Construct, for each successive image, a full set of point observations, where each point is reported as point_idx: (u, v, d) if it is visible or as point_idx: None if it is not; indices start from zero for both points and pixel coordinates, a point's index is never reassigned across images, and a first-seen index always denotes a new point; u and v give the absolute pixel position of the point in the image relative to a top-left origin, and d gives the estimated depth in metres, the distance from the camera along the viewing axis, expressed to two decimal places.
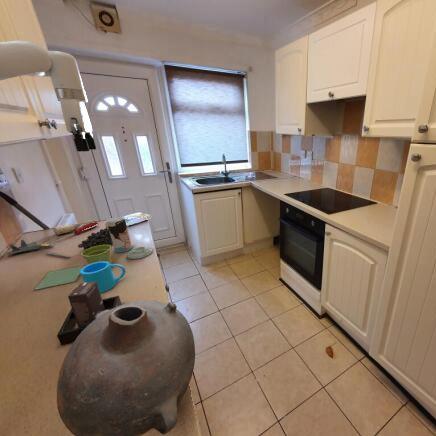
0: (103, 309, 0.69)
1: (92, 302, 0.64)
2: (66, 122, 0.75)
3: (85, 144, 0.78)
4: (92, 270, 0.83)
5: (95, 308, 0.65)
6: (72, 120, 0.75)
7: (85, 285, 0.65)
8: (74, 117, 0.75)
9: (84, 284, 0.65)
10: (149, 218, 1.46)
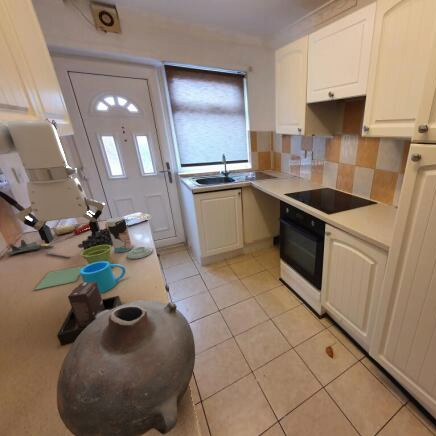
0: (103, 309, 0.69)
1: (92, 302, 0.64)
2: None
3: None
4: (92, 270, 0.83)
5: (95, 308, 0.65)
6: (28, 207, 0.57)
7: (85, 285, 0.65)
8: None
9: (84, 284, 0.65)
10: (149, 218, 1.46)
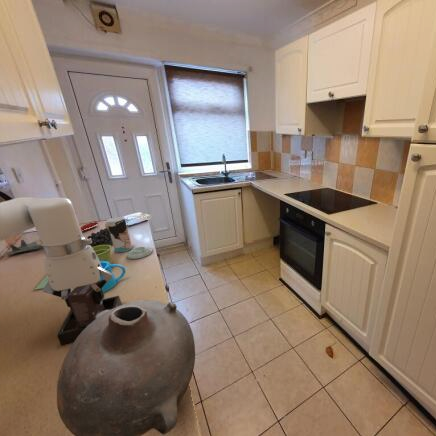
0: (103, 309, 0.69)
1: (92, 302, 0.64)
2: None
3: None
4: None
5: (95, 308, 0.65)
6: (49, 280, 0.60)
7: (84, 285, 0.65)
8: None
9: None
10: (149, 218, 1.46)
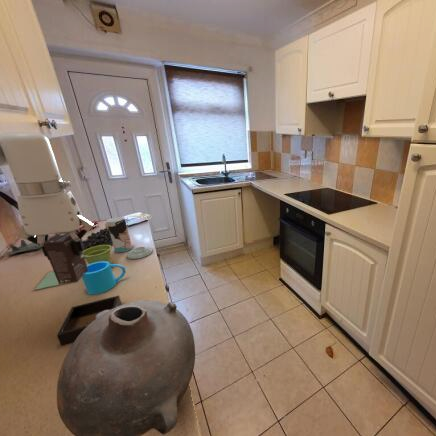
0: (84, 263, 0.65)
1: (71, 252, 0.60)
2: None
3: None
4: (92, 270, 0.83)
5: (74, 259, 0.61)
6: None
7: (63, 235, 0.61)
8: None
9: (62, 234, 0.61)
10: (149, 218, 1.46)
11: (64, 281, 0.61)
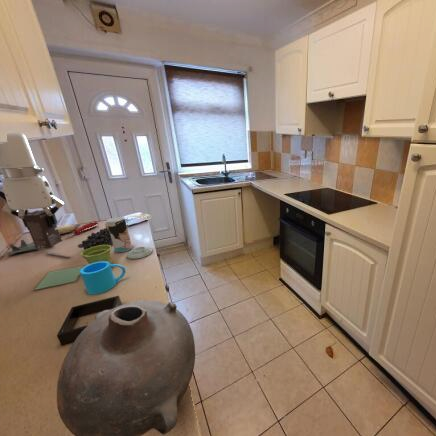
0: (58, 235, 0.82)
1: (46, 224, 0.77)
2: None
3: None
4: (92, 270, 0.83)
5: (49, 230, 0.78)
6: None
7: (40, 211, 0.78)
8: None
9: (39, 210, 0.78)
10: (149, 218, 1.46)
11: (40, 247, 0.78)
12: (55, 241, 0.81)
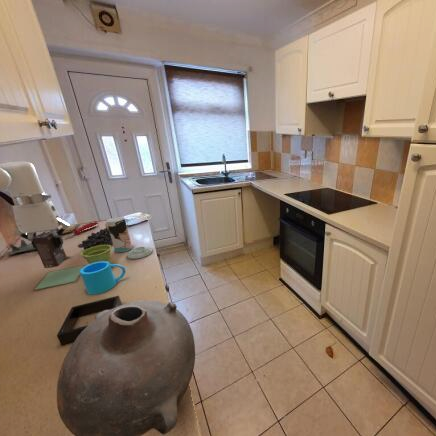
0: (64, 253, 0.88)
1: (53, 245, 0.84)
2: None
3: None
4: (92, 270, 0.83)
5: (56, 250, 0.84)
6: None
7: (47, 232, 0.84)
8: None
9: (46, 232, 0.84)
10: (149, 218, 1.46)
11: (48, 266, 0.84)
12: (61, 260, 0.87)
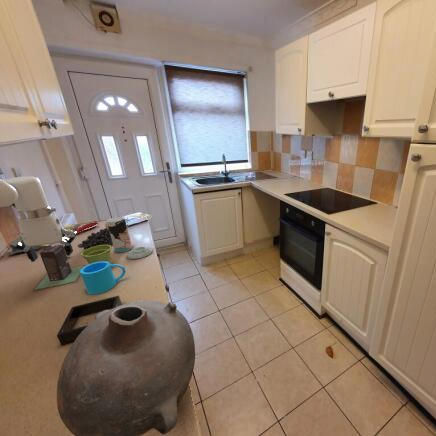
0: (69, 266, 0.90)
1: (59, 259, 0.86)
2: None
3: None
4: (92, 270, 0.83)
5: (61, 264, 0.87)
6: (19, 236, 0.80)
7: (53, 246, 0.86)
8: None
9: (53, 246, 0.86)
10: (149, 218, 1.46)
11: (54, 279, 0.86)
12: (66, 273, 0.89)
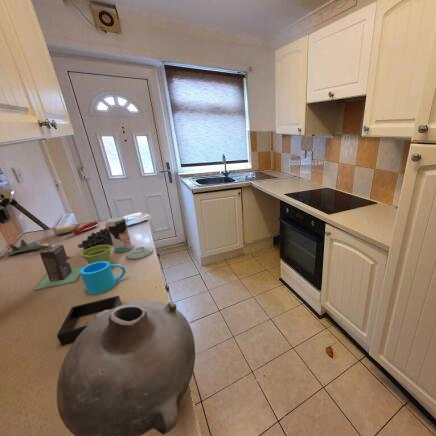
0: (69, 266, 0.90)
1: (59, 259, 0.86)
2: None
3: None
4: (92, 270, 0.83)
5: (61, 264, 0.87)
6: None
7: (54, 246, 0.86)
8: None
9: (53, 246, 0.86)
10: (149, 218, 1.46)
11: (54, 279, 0.86)
12: (66, 273, 0.89)
